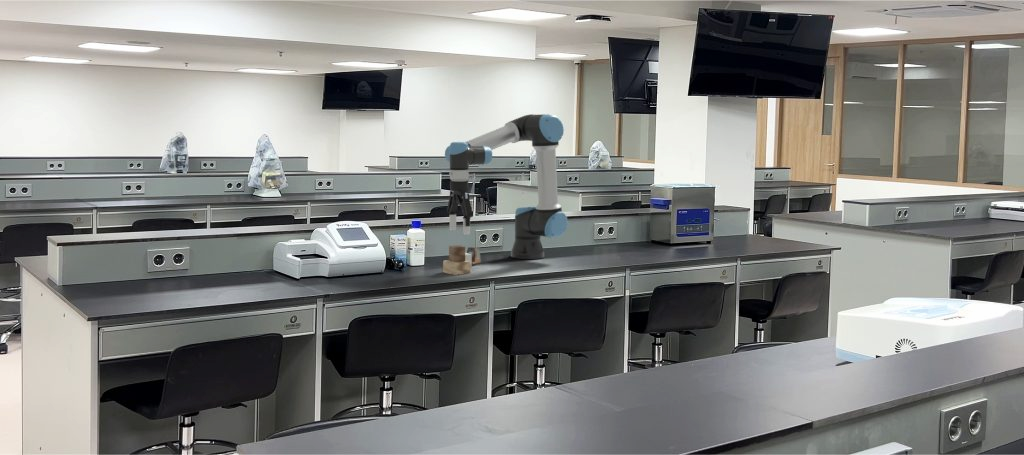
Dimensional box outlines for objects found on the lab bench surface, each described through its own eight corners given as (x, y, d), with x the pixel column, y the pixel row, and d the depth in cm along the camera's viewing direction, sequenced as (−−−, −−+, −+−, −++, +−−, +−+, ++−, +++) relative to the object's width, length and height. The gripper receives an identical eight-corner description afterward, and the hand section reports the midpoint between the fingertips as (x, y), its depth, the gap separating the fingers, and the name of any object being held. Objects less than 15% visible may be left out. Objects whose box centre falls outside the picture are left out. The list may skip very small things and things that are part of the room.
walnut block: (460, 259, 384) (460, 245, 383) (465, 261, 379) (465, 246, 379) (449, 260, 382) (449, 245, 381) (453, 262, 377) (453, 247, 376)
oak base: (459, 270, 386) (459, 259, 386) (470, 273, 380) (470, 261, 380) (443, 272, 381) (443, 260, 381) (454, 275, 375) (454, 263, 374)
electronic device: (463, 265, 399) (463, 248, 398) (471, 262, 408) (471, 245, 407) (472, 266, 398) (473, 248, 397) (480, 263, 407) (481, 246, 406)
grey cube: (465, 266, 397) (465, 252, 397) (471, 268, 392) (471, 254, 391) (452, 267, 395) (452, 253, 394) (458, 269, 389) (458, 255, 389)
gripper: (438, 178, 387) (439, 229, 389) (463, 182, 365) (464, 236, 367) (455, 177, 390) (455, 228, 393) (480, 182, 368) (481, 235, 371)
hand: (459, 232), depth 380 cm, fingers open, 13 cm apart
